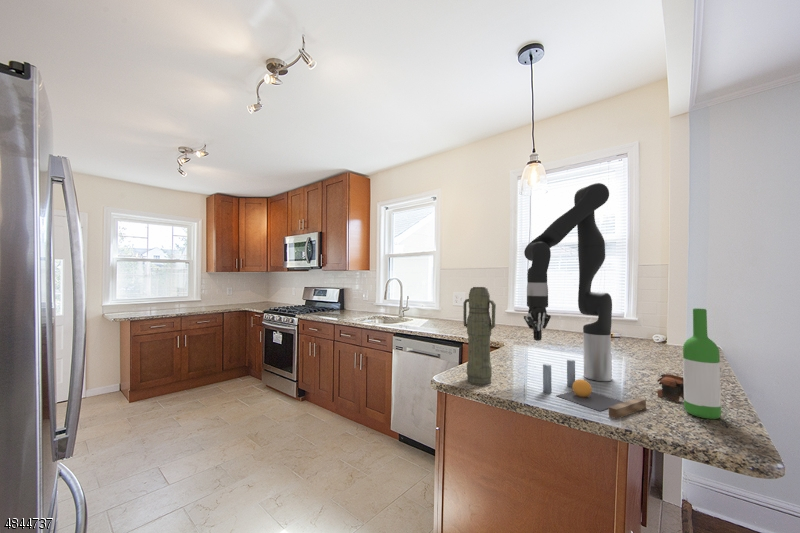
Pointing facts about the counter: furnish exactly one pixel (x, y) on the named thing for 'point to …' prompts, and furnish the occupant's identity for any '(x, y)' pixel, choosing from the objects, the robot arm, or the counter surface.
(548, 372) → the post
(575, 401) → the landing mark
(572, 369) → the post
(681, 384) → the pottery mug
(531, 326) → the robot arm
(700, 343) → the wine bottle
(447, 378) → the counter surface
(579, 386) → the ball
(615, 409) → the wall
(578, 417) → the counter surface
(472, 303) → the thermos
